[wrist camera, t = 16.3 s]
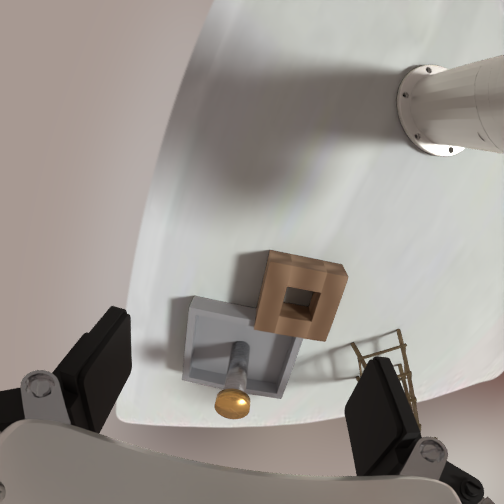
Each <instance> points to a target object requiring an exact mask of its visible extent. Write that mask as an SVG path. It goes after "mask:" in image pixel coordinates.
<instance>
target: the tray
mask: <svg viewBox="0 0 504 504" xmlns="http://www.w3.org/2000/svg"><path fill="white" fill-rule="evenodd" d="M255 319H256V308H252V307H247V306H242V305H237V304H232V303H227V302H222V301H217V300H212V299H208V298H203V297H198V296H194V298H193V300H192V302H191V304H190V306H189V313H188V322H187V332H186V342H185V353H184V364H183V375H182V380H184V381H188V382H192V383H197V384H201V385H206V386H211V387H215V388H220V389H224V385H225V380H226V374H227V369H228V364H229V358H230V353H231V347H232V344H233V343H234V342H236V341H244V342H246V343H248V344H249V346H250V355H249V364H248V374H247V383H246V393H247V394H253V395H260V396H266V397H273V398H280V399H281V398H282V396H283V393H284V390H285V388H286V385H287V382H288V380H289V377H290V374H291V372H292V369H293V366H294V363H295V360H296V358H297V355H298V352H299V349H300V346H301V343H302V340H303V338H298V337H292V336H286V335H280V334H275V333H269V332H263V331H258V330H254V324H255Z"/></svg>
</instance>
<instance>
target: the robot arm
mask: <svg viewBox="0 0 504 504" xmlns="http://www.w3.org/2000/svg"><path fill="white" fill-rule="evenodd" d="M426 70H427V71H426ZM403 94H404V96H405V97H403ZM397 109H398V115H399V119H400V122H401V124H402V126H403V129H404V131H405V132H406V134H407V135H408V137H409V138H410V139H411V141H412V142H413V143H414V144H415V145H416V146H418V147H419V148H420V149H422V150H423V151H425V152H427V153H429V154H432V155H436V156H443V157H445V156H452V155H455V154H458V153H459V152H461V151H462V150H464V149H465V148H470V149H477V150H483V151H490V152H496V153H501V154H504V55H501V56H497V57H493V58H489V59H485V60H481V61H477V62H474V63H470V64H466V65H463V66H459V67H456V68H452V69H449V70H448V69H447V68H444V67H442V66H438V65H423V66H420V67H417V68H415V69H413V70H412V71H410V72H409V73H408V74H407V75H406V76H405V77H404V79H403V80H402V82H401V84H400V87H399V90H398V95H397ZM415 135H416V138H415ZM131 369H132V357H131V318H130V315H129V314H127V312H126V310H125V309H122V308H118V307H114V306H111V307H110V308H109V309H108V311H107V312H106V313H105V314H104V316H103V317H102V318H101V319H100V320H99V321H98V323H97V324H96V325H95V326H94V327H93V329H92V330H91V331H90V332H89V333H85V334H83V335H82V337H81V338H80V339H79V340H78V342H77V343H76V344H75V345H74V347H73V348H72V349H71V350H70V351H69V353H68V354H67V355H66V356H65V358H64V359H63V360H62V361H61V363H60V364H59V365H58V367H57V368H56V369H55V370H54V371H53V373H50V372H48V371H44V370H37V371H33V372H30V373H29V374H27V375H26V376H25V377H24V378H23V379H22V382H21V388H16V389H10V390H5V391H0V504H495V503H494V502H492V500H491V499H490V498H488V497H487V498H484V497H483V496H484V488H483V486H482V484H481V482H480V481H479V480H478V479H476V478H475V477H473V476H471V475H469V474H468V473H466V472H465V471H462V470H461V469H459V468H458V467H456V466H454V465H453V464H451V463H449V462H448V461H447V457H448V452H447V449H446V447H445V445H444V444H443V443H442V442H441V441H439V440H438V439H436V438H433V437H423V438H422V437H421V434H420V429H419V427H418V424H417V422H416V419H415V417H414V414H413V412H412V409H411V407H410V404H409V402H408V400H407V397H406V395H405V393H404V390H403V388H402V386H401V383H400V381H399V379H398V376H397V374H396V372H395V370H394V367H393V365H392V363H391V361H390V359H389V358H386V357H374V358H373V360H369V362H368V363H367V366H366V368H365V370H364V371H363V373H362V375H361V377H360V379H359V381H358V383H357V385H356V387H355V389H354V391H353V393H352V394H351V396H350V398H349V400H348V402H347V404H346V406H345V417H346V422H347V427H348V431H349V437H350V442H351V447H352V452H353V458H354V463H355V468H356V474H357V476H308V475H292V474H278V473H269V472H260V471H252V470H244V469H238V468H231V467H225V466H219V465H214V464H208V463H203V462H198V461H194V460H189V459H185V458H180V457H176V456H172V455H168V454H164V453H160V452H156V451H153V450H149V449H145V448H142V447H139V446H136V445H132V444H129V443H126V442H122V441H119V440H116V439H113V438H110V437H107V436H104V435H101V434H99V433H100V431H101V429H102V427H103V425H104V423H105V421H106V419H107V417H108V416H109V414H110V412H111V410H112V408H113V406H114V404H115V402H116V400H117V398H118V396H119V394H120V392H121V390H122V389H123V387H124V385H125V383H126V381H127V379H128V377H129V375H130V373H131Z"/></svg>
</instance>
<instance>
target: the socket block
mask: <svg viewBox="0 0 504 504" xmlns="http://www.w3.org/2000/svg"><path fill="white" fill-rule="evenodd" d="M347 280H348V275H347V273H346V271H345V269H344V267H343V265H342V264H337V263H332V262H327V261H322V260H318V259H313V258H308V257H303V256H298V255H293V254H288V253H283V252H278V251H273V250H270V251H269V256H268V260H267V265H266V269H265V273H264V278H263V282H262V287H261V291H260V295H259V300H258V304H257V308H256V319H255V324H254V330H258V331H263V332H269V333H275V334H280V335H286V336H292V337H298V338H304V339H311V340H317V341H324V342H325V341H326V339H327V336H328V333H329V331H330V328H331V325H332V323H333V320H334V317H335V315H336V312H337V309H338V306H339V303H340V300H341V298H342V295H343V292H344V289H345V286H346V283H347ZM287 286H288V287H293V288H298V289H304V290H309V291H313V295H312V298H311V301H310V304H309V307H308V306H302V305H296V304H291V303H285V302H283V300H284V296H285V293H286V289H287Z"/></svg>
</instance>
